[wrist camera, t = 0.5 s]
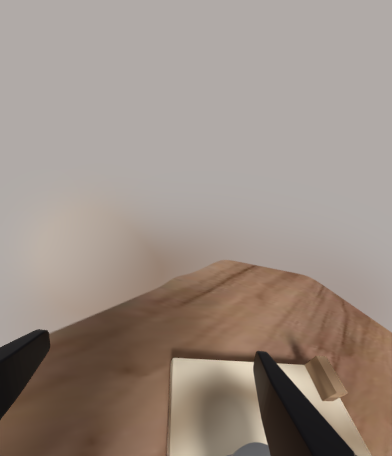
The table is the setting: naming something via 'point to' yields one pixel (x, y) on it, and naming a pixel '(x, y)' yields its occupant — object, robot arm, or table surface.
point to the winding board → (243, 405)
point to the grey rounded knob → (252, 450)
